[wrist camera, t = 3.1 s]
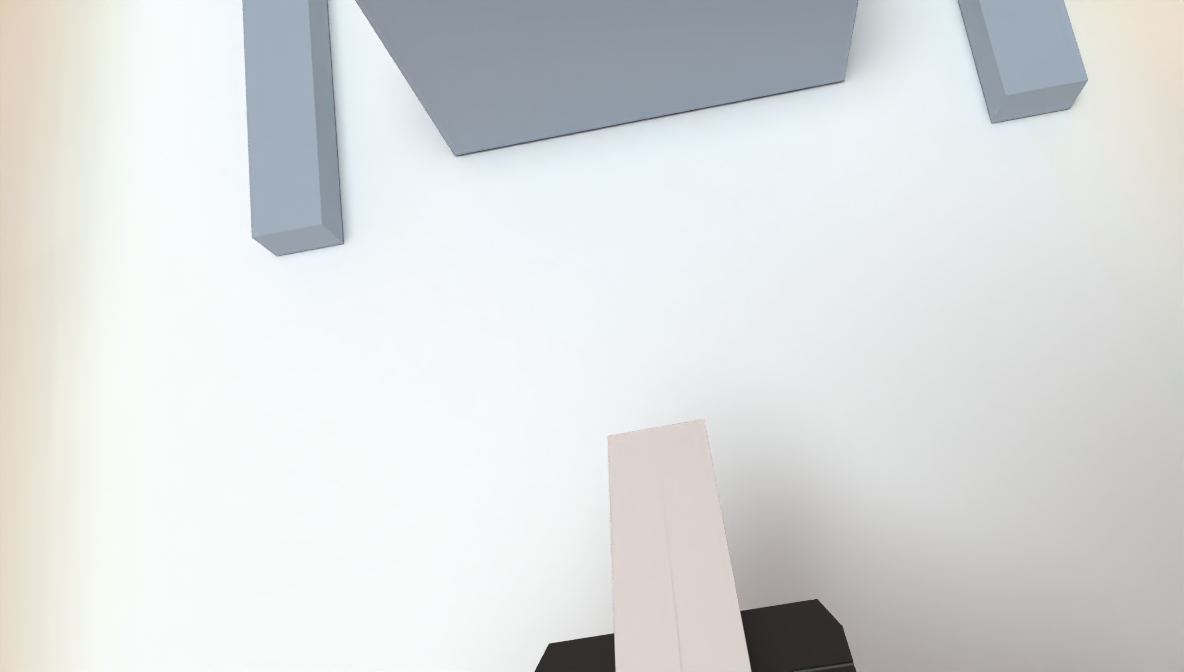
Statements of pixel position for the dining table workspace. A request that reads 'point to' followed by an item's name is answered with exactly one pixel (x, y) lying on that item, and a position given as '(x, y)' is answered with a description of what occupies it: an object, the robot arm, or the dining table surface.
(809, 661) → the robot arm
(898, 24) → the dining table surface
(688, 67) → the slide jaw
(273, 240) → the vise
